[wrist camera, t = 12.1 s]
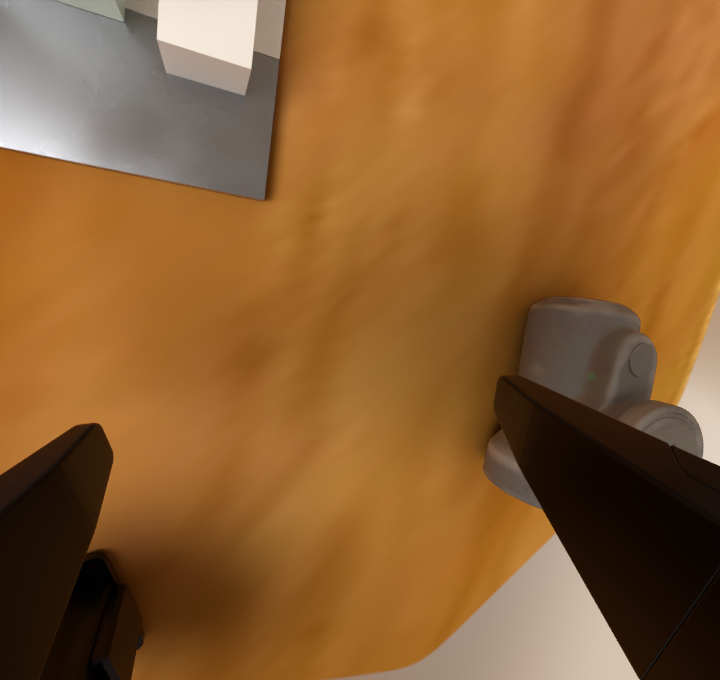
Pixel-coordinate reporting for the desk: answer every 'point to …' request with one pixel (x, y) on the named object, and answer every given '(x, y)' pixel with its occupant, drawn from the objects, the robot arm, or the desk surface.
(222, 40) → the mounted modules
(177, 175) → the mounting plate
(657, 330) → the desk surface
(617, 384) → the pipe fitting
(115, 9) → the block
